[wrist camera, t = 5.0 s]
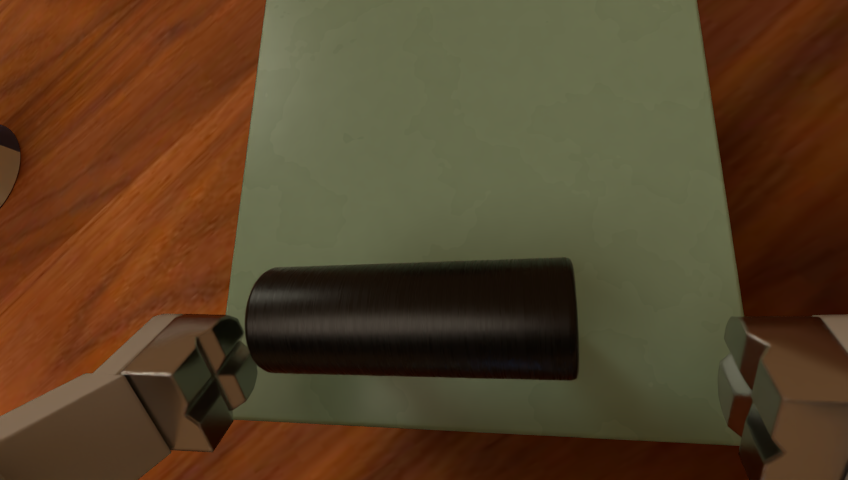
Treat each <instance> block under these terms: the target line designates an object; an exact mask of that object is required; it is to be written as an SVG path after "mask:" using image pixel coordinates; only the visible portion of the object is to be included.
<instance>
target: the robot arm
mask: <svg viewBox="0 0 848 480" xmlns="http://www.w3.org/2000/svg"><path fill="white" fill-rule="evenodd" d="M243 335H244V330H243V328H242V326H241V324H240V322H239V320H238V318H235V317H233V316H230V315H208V314H161V315H158V316H154V317H153V318H152V319H150V320H149V321H148V322H147V323H146V324H145V325H144V326H143V327H142V328H141V329H140V330H139V331H138V332H137V333H135V334H134V335H133V336H132V337H131V338H130V339H129V340H128V341H127V342H126V343H125V344H124V345H123V346H122V347H120V348H119V349H118V350H117V351H116V352H115V353H114V354H113V355H112V356H111V357H110V358H109V359H108V360H107V361H105V362H104V363H103V364H102V365H101V366H100V367H99V368H98V369H97V370H96V371H95V372H94V373H93V374H88V373H85V374H83V375H81V376H79V377H77V378H75V379H73V380H71V381H69V382H67V383H65V384H63V385H61V386H60V387H58V388H56V389H54V390H52V391H50V392H48V393H46V394H44V395H42V396H40V397H38V398H36V399H34V400H32V401H30V402H28V403H26V404H24V405H22V406H20V407H18V408H16V409H14V410H12V411H10V412H8V413H6V414H4V415H2V416H0V480H138V479H139V478H140V477H142V476H143V475H144V474H145V473H147V472H148V471H149V470H150V469H152V468H153V467H154V466H155V465H157V464H158V463H159V462H160V461H161V460H163V459H164V458H165V457H166V456H168V455H169V454H170V453H171V451H170V450H179V451H198V452H213V451H214V450H215V448H216V447H217V445H218V444H219V442H220V441H221V439H222V438H223V436H224V434H225V433H226V431H227V430H228V428H229V427H230V425H231V424H232V422H233V410H234V409H236V408H237V407H239V406H240V405H241V404H243V403H244V402H246V401H247V399H248V398H249V396H250V394H251V393H252V391H253V390H254V387H255V383H256V378H257V374H258V371H257V364H256V363H255V362H254V360H253V359H252V357H251V355H250V352H249V350H248V347H247V346H246V345H245V344H244V343H242V342H241V341H242V338H243ZM724 340H725V342H726V344H727V347H728V349H729V351H730V353H729V354H728V355H727V356H726V357H725V358H723V359H722V360H721V361H720V363H719V370H718V378H717V381H718V396H719V401H720V405H721V409H722V413H723V415H724V418H725V421H726V423H727V426H728V427H729V428H730V429H731V430H733V431H734V432H735V433H737V434H738V435H739V436H740V437H742V439H741V443H740V448H739V453H738V454H739V456H740V459H741V461H742V464H743V466H744V469H745V471H746V474H747V476H748V479H749V480H848V315H813V316H812V317H811V316H731V317H730V319H729V321H728V322H727V324H726V329H725V334H724Z"/></svg>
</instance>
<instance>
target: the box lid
mask: <svg viewBox="0 0 848 480" xmlns="http://www.w3.org/2000/svg"><path fill="white" fill-rule="evenodd" d="M226 315H230V316H233V317H235V318H238V320H239V322H240V324H241V326H242V328H243V330H244V335H243V338H242V341H241V342H242V343H244V344H245V345H246V346H247V347H248V350H249V352H250V355H251V357H252V359H253V360H254V362H255V363H256V364H257V371H258V374H257V378H256V383H255V387H254V390H253V391H252V393H251V394H250V396H249V398H248V399H247V401H246V402H244V403H243V404H241V405H240V406H239V407H237V408H236V409H234V410H233V420H252V421H271V422H290V423H310V424H329V425H348V426H367V427H387V428H406V429H425V430H444V431H464V432H483V433H502V434H522V435H541V436H560V437H579V438H599V439H618V440H637V441H656V442H676V443H695V444H714V445H734V446H740V443H741V439H742V437H740V436H739V435H738V434H737V433H735V432H734V431H733V430H731V429H730V428H729V427H728V426H727V423H726V421H725V418H724V415H723V413H722V409H721V405H720V401H719V396H718V381H717V378H718V370H719V363H720V361H721V360H722V359H723V358H725V357H726V356H727V355H728V354H729V353H730V351H729V349H728V347H727V344H726V342H725V340H724V334H725V329H726V324H727V322H728V321H729V319H730V317H731V316H744V312H743V306H742V299H741V292H740V286H739V279H738V272H737V266H736V259H735V252H734V245H733V239H732V232H731V225H730V219H729V212H728V205H727V199H726V192H725V185H724V179H723V172H722V165H721V159H720V152H719V145H718V139H717V132H716V125H715V119H714V112H713V105H712V98H711V92H710V85H709V78H708V72H707V65H706V58H705V52H704V45H703V38H702V32H701V25H700V18H699V12H698V5H697V0H266V6H265V14H264V22H263V30H262V37H261V45H260V53H259V61H258V68H257V76H256V84H255V92H254V100H253V107H252V115H251V123H250V131H249V138H248V146H247V154H246V162H245V170H244V177H243V185H242V193H241V201H240V208H239V216H238V224H237V232H236V239H235V247H234V255H233V263H232V271H231V278H230V286H229V294H228V302H227V309H226Z"/></svg>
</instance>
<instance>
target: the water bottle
mask: <svg viewBox="0 0 848 480" xmlns="http://www.w3.org/2000/svg"><path fill="white" fill-rule="evenodd" d="M19 165H20V148H19V144H18V141H17V138H16V137H15V135H14V134H13V132H12V131H11V130H10V129H8V128H7V127H5V126H3V125H0V207H1V206H2V204H3V203H4V202H5V200H6V199H7V197H8V195H9V193H10V192H11V190H12V188H13V185H14V183H15V181H16V178H17V174H18V171H19Z"/></svg>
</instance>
